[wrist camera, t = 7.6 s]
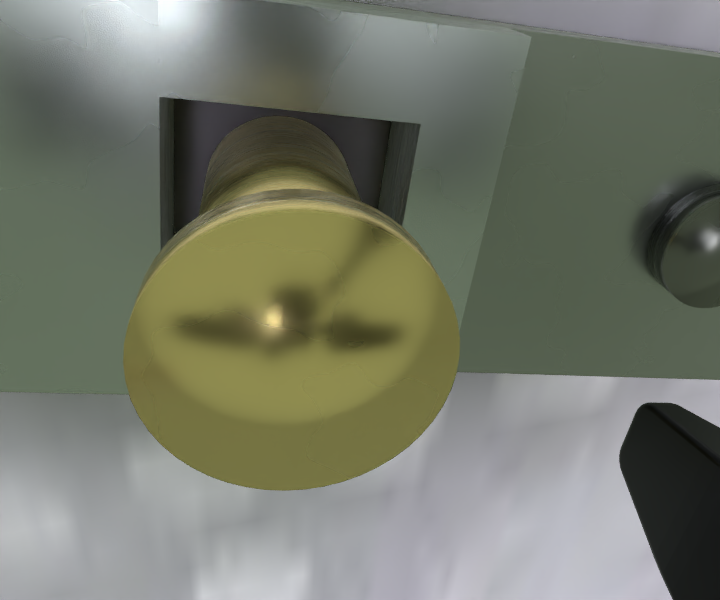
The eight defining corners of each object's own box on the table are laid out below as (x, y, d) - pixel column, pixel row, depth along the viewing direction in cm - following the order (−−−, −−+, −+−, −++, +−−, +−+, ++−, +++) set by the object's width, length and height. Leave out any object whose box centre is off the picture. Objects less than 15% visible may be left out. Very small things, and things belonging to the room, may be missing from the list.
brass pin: (389, 98, 14) (493, 226, 8) (361, 280, 16) (427, 489, 10) (177, 75, 13) (115, 197, 7) (177, 269, 15) (128, 491, 9)
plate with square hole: (852, 71, 15) (985, 102, 12) (717, 356, 19) (795, 428, 16) (-531, -122, 10) (-818, -141, 8) (-342, 315, 14) (-487, 409, 11)
